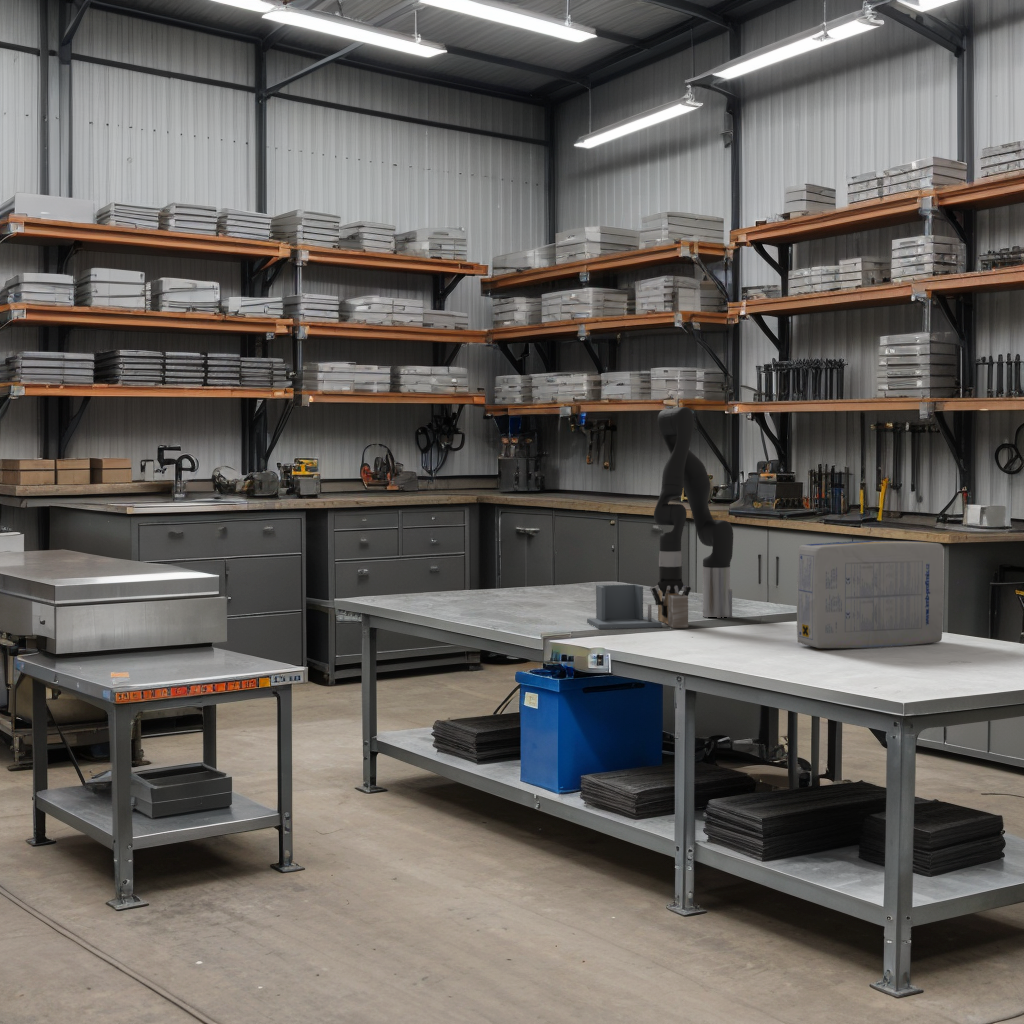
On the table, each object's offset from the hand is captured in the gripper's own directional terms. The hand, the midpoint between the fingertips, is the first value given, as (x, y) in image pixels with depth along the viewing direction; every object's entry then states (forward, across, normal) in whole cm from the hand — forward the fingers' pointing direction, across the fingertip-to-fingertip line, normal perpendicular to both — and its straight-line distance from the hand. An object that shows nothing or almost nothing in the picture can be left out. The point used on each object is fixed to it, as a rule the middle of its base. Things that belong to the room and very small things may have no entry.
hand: (670, 616), depth 399 cm
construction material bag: (+3, -42, +56) cm, 70 cm away
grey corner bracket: (+2, +16, -1) cm, 16 cm away
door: (+2, 0, +1) cm, 2 cm away
